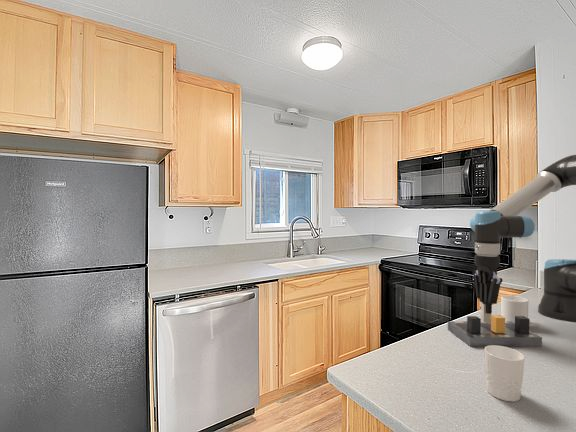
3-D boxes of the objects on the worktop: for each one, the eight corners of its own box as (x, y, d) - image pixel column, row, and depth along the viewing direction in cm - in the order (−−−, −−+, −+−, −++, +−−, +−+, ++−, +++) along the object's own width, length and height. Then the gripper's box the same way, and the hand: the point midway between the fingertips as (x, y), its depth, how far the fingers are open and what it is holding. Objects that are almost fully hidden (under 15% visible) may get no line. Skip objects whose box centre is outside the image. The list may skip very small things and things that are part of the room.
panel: (510, 329, 115) (511, 307, 114) (541, 346, 101) (542, 321, 100) (447, 329, 115) (448, 307, 114) (469, 346, 101) (470, 321, 100)
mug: (509, 318, 126) (510, 292, 126) (535, 324, 120) (535, 297, 119) (496, 324, 119) (497, 297, 119) (522, 331, 113) (523, 303, 112)
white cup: (476, 384, 79) (477, 345, 79) (505, 383, 80) (506, 344, 79) (500, 404, 71) (500, 361, 71) (532, 402, 72) (533, 359, 72)
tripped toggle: (499, 330, 106) (500, 315, 105) (504, 333, 103) (505, 318, 103) (490, 330, 106) (491, 315, 105) (495, 333, 103) (496, 318, 103)
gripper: (465, 252, 117) (464, 315, 117) (488, 257, 104) (487, 328, 104) (485, 252, 117) (484, 314, 117) (511, 257, 104) (509, 328, 104)
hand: (485, 321), depth 111 cm, fingers closed
